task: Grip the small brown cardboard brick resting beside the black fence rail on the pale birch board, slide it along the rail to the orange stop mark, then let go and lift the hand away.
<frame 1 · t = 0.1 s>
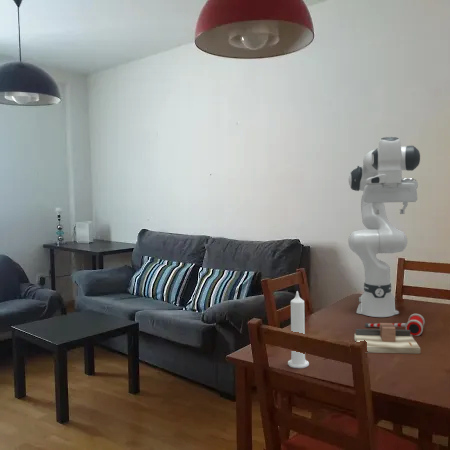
hand: (389, 214, 194), 48 cm above the table, tool pointing down, fingers open, 8 cm apart
toy hammer: (399, 331, 202), on the table
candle: (298, 365, 167), on the table
brown cardboard brick: (387, 338, 185), point 2 cm above the table, touching board
board: (385, 345, 183), on the table
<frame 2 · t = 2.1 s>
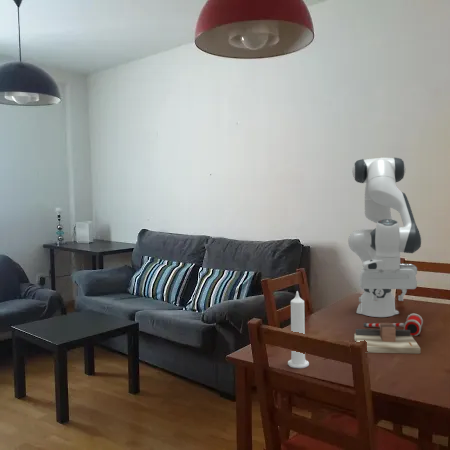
hand: (387, 300, 184), 17 cm above the table, tool pointing down, fingers open, 8 cm apart
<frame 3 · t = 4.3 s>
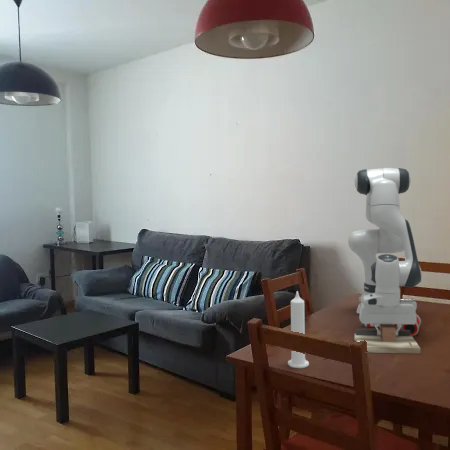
hand: (387, 335, 185), 3 cm above the table, tool pointing down, fingers closed on brown cardboard brick, 4 cm apart
brown cardboard brick: (387, 338, 185), point 2 cm above the table, touching board, gripper
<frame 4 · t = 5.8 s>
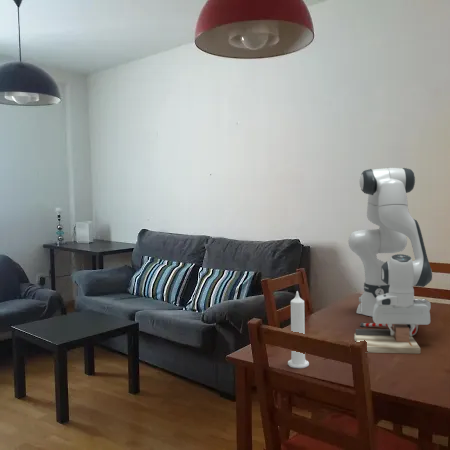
hand: (401, 335, 184), 3 cm above the table, tool pointing down, fingers closed on brown cardboard brick, 4 cm apart
brown cardboard brick: (401, 338, 184), point 2 cm above the table, touching gripper
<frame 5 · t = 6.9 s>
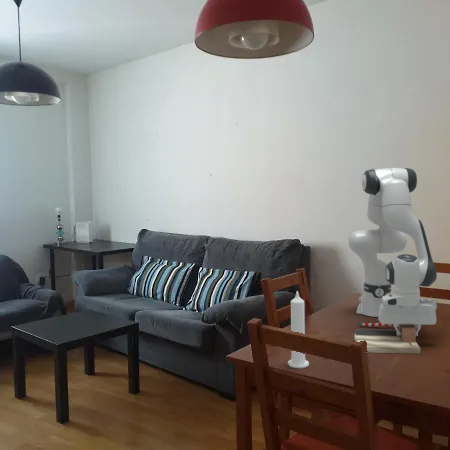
hand: (406, 335, 184), 3 cm above the table, tool pointing down, fingers closed on brown cardboard brick, 4 cm apart
brown cardboard brick: (407, 339, 184), point 2 cm above the table, touching gripper
when the fingers open (3 cm above the table, at t = 7.4 s): brown cardboard brick stays where it is, resting on board.
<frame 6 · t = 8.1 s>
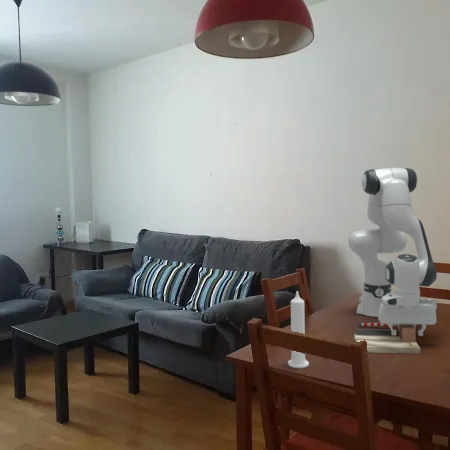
hand: (406, 335, 184), 3 cm above the table, tool pointing down, fingers open, 8 cm apart
brown cardboard brick: (406, 339, 184), point 2 cm above the table, touching board
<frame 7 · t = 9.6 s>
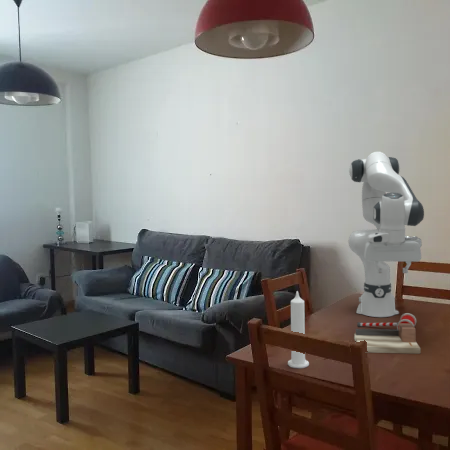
hand: (392, 272, 186), 26 cm above the table, tool pointing down, fingers open, 8 cm apart
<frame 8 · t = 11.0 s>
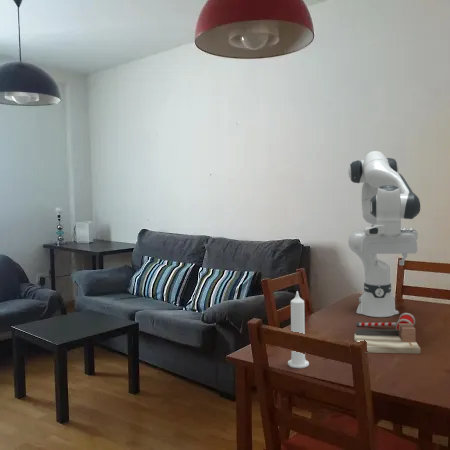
hand: (388, 265, 187), 29 cm above the table, tool pointing down, fingers open, 8 cm apart
at the end: brown cardboard brick 0.0 cm from the target spot, point 2.0 cm above the table; brown cardboard brick tilted 0°; the gripper is holding nothing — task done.
